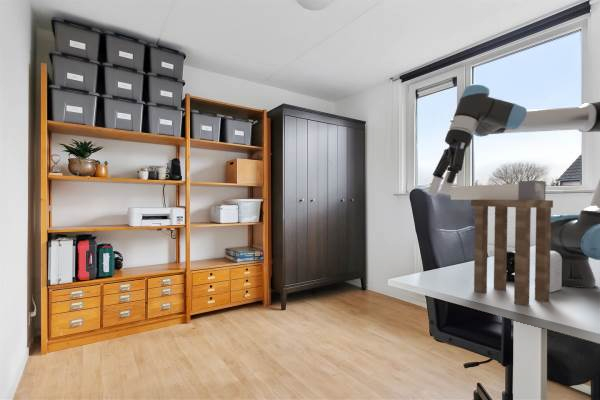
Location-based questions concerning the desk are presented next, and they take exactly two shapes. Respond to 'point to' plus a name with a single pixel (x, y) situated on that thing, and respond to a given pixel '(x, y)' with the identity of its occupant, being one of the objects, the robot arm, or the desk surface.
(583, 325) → the desk surface
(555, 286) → the photo printer
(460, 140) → the robot arm
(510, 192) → the light grey bar
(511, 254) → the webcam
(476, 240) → the walnut stand
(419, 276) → the desk surface
